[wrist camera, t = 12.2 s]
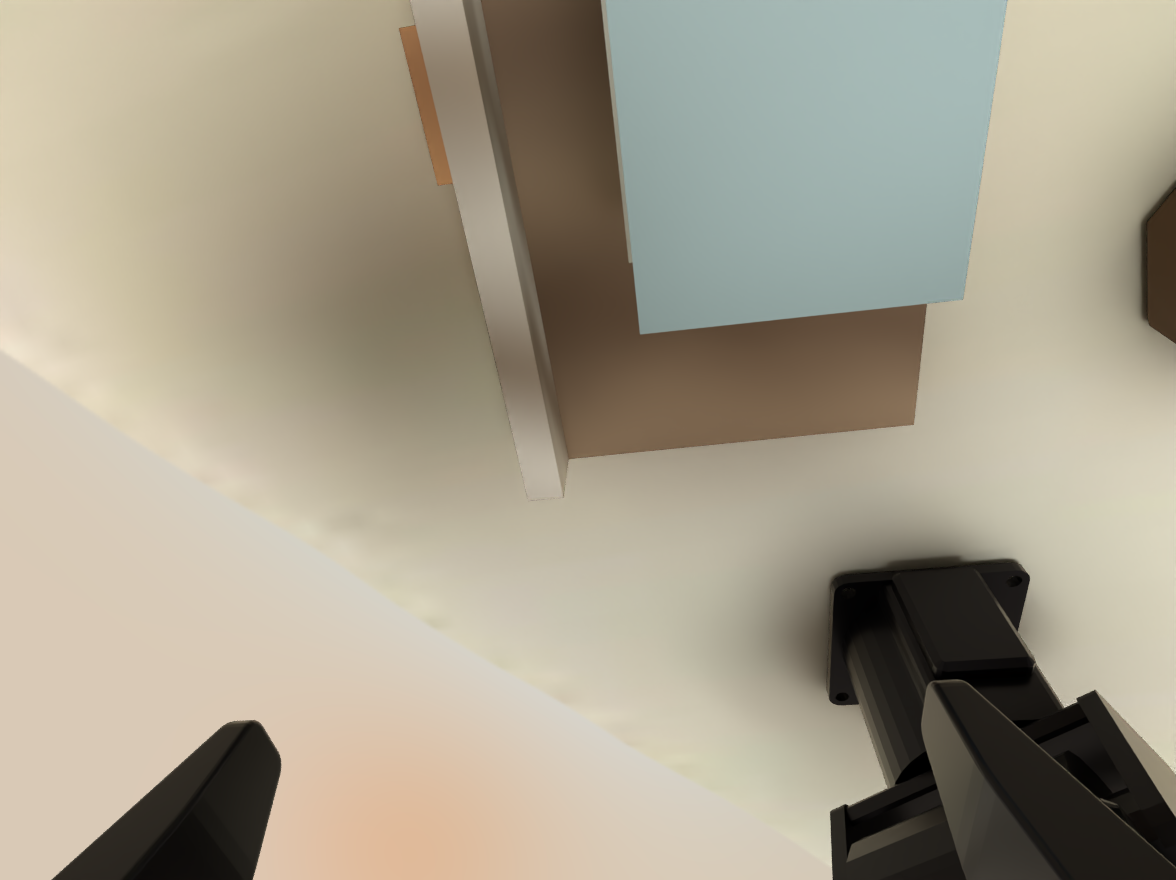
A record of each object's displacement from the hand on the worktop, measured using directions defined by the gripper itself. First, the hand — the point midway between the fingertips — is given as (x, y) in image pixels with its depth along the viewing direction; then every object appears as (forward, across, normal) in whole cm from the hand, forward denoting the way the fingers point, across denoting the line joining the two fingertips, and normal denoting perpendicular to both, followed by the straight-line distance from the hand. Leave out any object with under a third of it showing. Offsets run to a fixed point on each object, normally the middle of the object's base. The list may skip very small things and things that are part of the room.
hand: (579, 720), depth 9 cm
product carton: (+12, -4, -7) cm, 14 cm away
